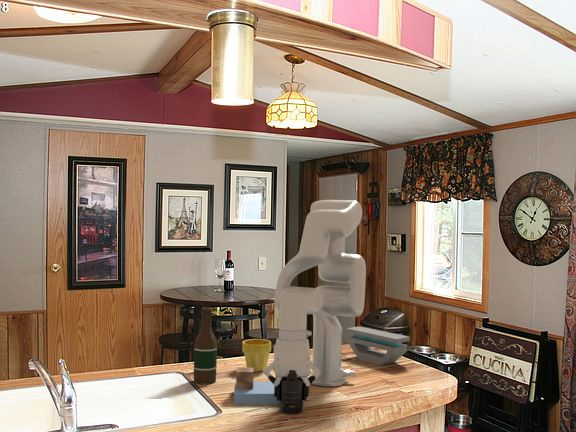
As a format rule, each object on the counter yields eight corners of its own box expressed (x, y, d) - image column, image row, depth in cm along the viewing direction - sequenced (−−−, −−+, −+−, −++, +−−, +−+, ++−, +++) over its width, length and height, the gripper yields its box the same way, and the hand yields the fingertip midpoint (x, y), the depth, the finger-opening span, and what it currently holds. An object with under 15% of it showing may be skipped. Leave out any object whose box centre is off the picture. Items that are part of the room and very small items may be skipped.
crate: (252, 384, 169) (253, 367, 169) (253, 389, 164) (253, 372, 164) (236, 384, 169) (236, 367, 169) (236, 388, 164) (236, 371, 164)
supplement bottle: (277, 406, 158) (279, 364, 158) (301, 406, 158) (302, 364, 159) (279, 415, 151) (280, 370, 151) (304, 415, 152) (305, 370, 152)
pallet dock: (286, 391, 172) (286, 381, 172) (289, 404, 160) (289, 393, 160) (234, 391, 171) (235, 381, 171) (233, 404, 159) (234, 393, 159)
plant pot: (235, 369, 196) (236, 342, 196) (253, 364, 205) (254, 337, 205) (259, 374, 190) (259, 346, 190) (276, 368, 199) (277, 341, 199)
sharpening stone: (409, 366, 207) (409, 336, 208) (396, 369, 202) (396, 339, 202) (358, 353, 226) (359, 326, 226) (345, 355, 221) (346, 328, 221)
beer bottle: (212, 385, 177) (214, 309, 177) (188, 383, 178) (190, 308, 179) (219, 378, 184) (221, 306, 185) (197, 377, 186) (199, 305, 186)
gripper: (321, 332, 159) (320, 395, 159) (261, 332, 158) (259, 395, 158) (325, 338, 152) (324, 403, 152) (262, 337, 151) (260, 403, 150)
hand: (291, 398), depth 155 cm, fingers closed on supplement bottle, 6 cm apart
